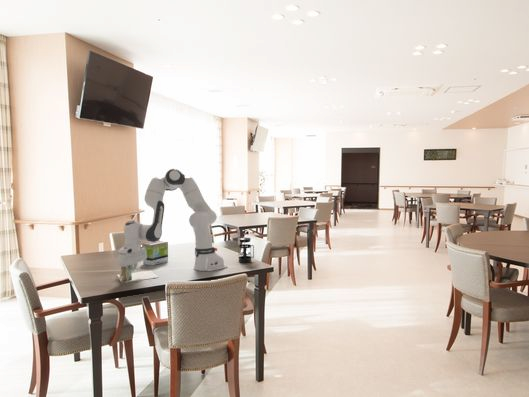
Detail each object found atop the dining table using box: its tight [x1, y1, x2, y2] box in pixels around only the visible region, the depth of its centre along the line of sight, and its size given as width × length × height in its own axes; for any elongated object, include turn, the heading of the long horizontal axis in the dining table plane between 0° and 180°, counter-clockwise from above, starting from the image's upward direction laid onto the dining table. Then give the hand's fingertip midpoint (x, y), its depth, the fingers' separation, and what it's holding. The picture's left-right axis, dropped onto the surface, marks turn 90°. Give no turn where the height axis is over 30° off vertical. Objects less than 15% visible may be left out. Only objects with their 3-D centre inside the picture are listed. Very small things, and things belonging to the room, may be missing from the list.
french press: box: [238, 229, 255, 264], centre depth 265 cm, size 12×9×23 cm
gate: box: [126, 265, 133, 280], centre depth 224 cm, size 14×2×8 cm, turn 35°
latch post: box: [119, 266, 130, 284], centre depth 218 cm, size 4×4×9 cm
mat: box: [116, 270, 159, 283], centre depth 229 cm, size 21×19×1 cm
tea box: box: [142, 240, 169, 266], centre depth 265 cm, size 15×10×15 cm, turn 151°
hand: (133, 270), depth 224 cm, fingers closed
